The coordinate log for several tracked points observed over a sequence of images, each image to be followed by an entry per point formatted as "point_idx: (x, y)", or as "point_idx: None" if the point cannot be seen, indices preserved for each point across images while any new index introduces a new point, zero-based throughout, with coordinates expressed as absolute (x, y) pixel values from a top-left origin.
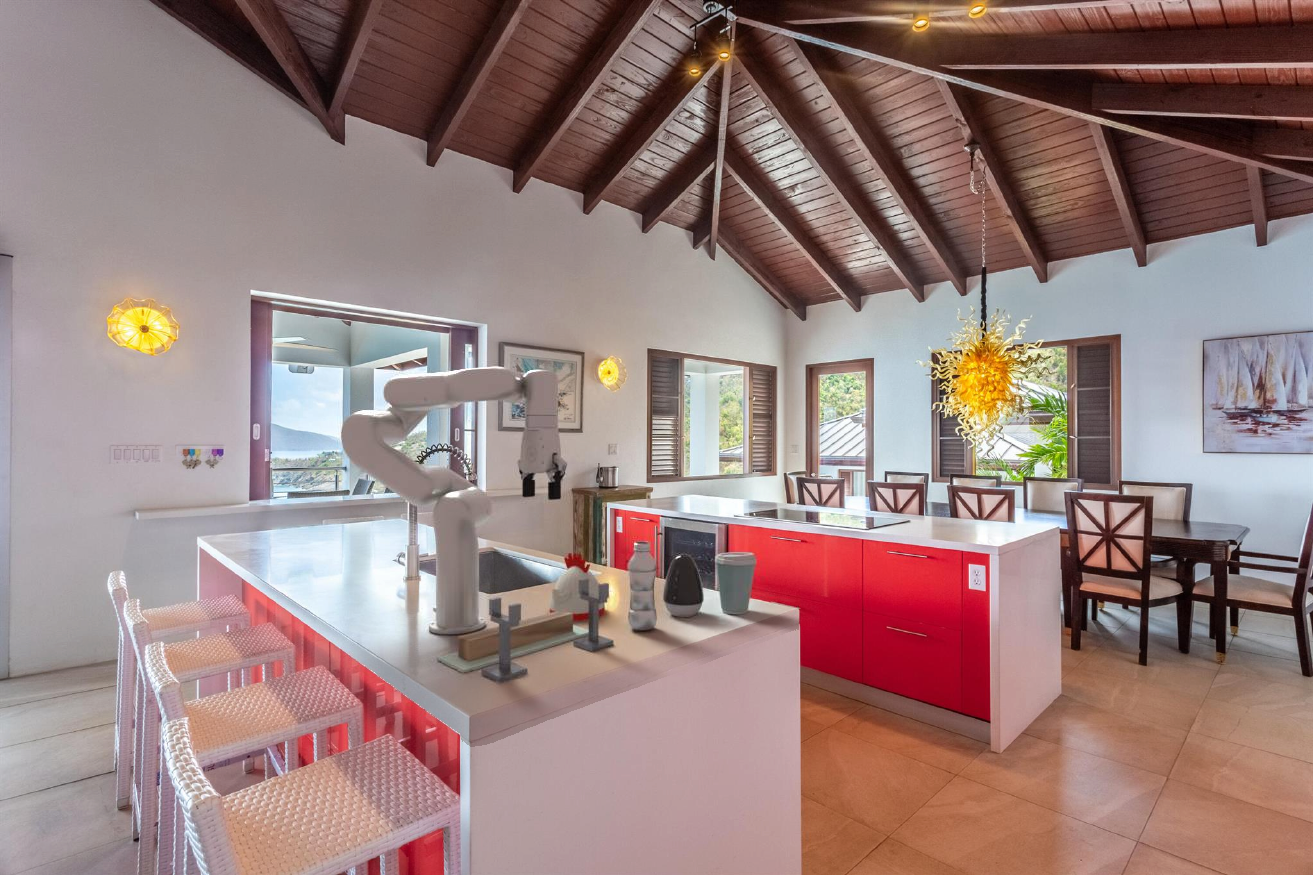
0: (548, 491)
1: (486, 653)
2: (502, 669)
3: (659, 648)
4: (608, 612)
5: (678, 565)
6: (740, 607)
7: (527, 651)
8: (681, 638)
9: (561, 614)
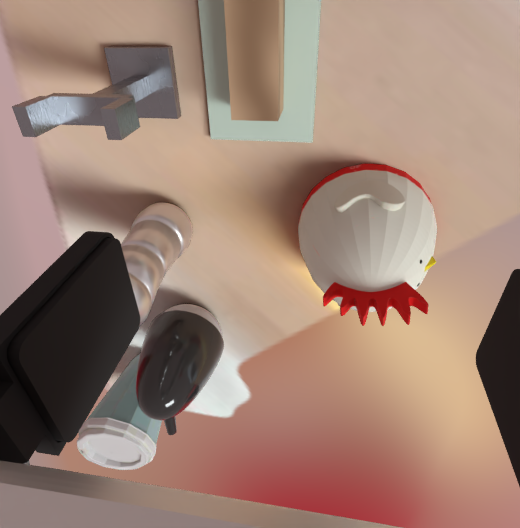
0: (61, 271)
1: None
2: None
3: (61, 159)
4: None
5: (149, 380)
6: (129, 363)
7: None
8: (88, 223)
9: (244, 91)
